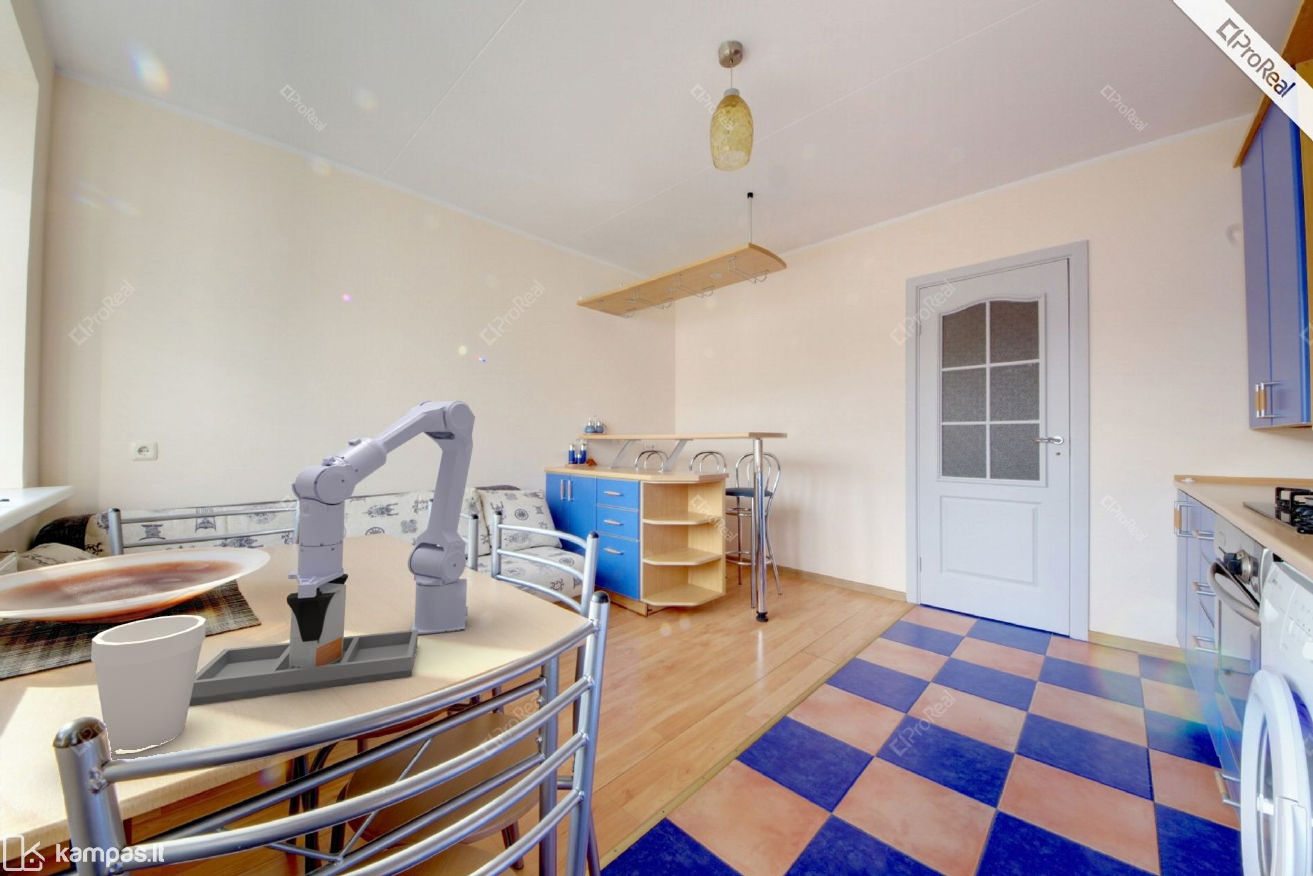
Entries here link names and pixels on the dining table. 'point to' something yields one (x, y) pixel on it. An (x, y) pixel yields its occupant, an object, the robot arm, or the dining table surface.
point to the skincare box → (331, 637)
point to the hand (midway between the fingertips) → (318, 630)
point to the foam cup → (147, 678)
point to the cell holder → (269, 673)
